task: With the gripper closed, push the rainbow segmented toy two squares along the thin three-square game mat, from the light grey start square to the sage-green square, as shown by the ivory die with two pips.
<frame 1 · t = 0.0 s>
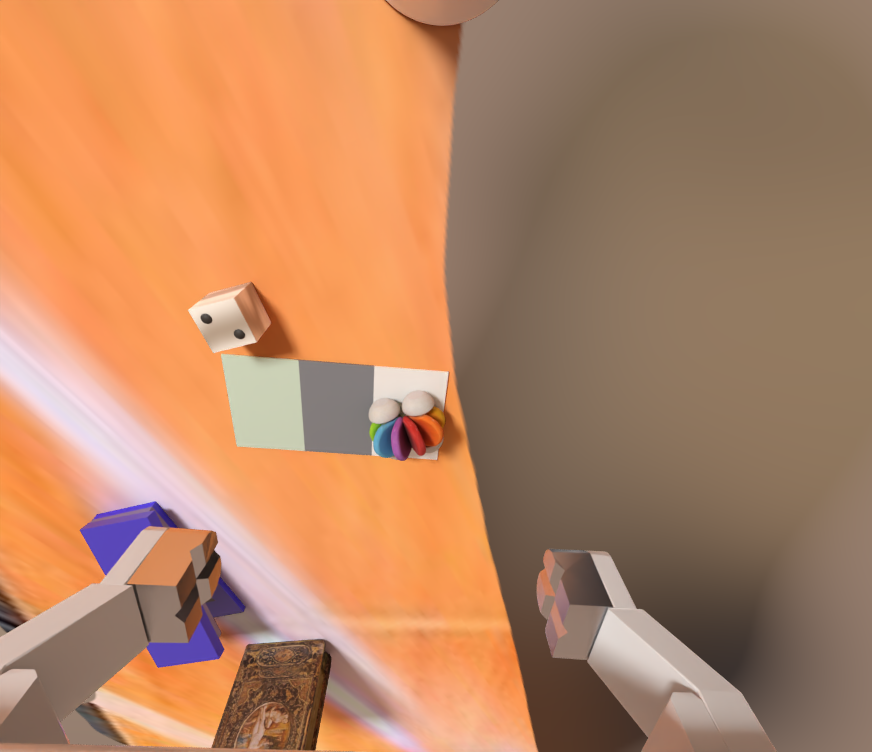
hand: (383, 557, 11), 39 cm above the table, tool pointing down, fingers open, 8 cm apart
game mat: (337, 410, 56), on the table
book: (288, 648, 85), on the table
rainbow segmented toy: (407, 415, 56), resting on game mat
stapler: (179, 560, 72), on the table
die: (241, 307, 49), on the table
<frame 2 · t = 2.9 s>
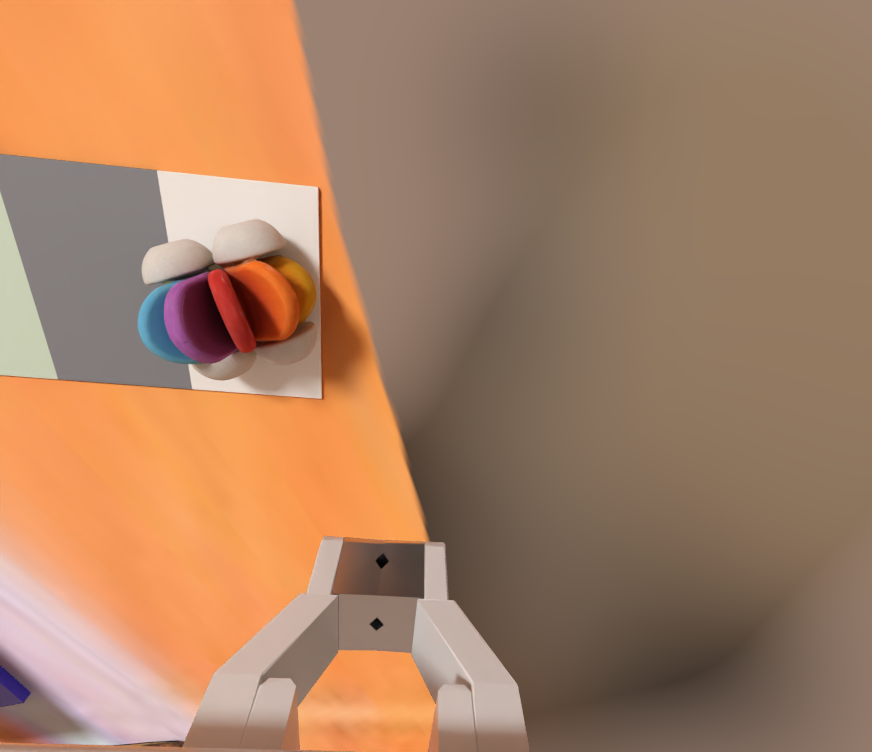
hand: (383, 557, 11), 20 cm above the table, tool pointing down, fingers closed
game mat: (104, 284, 28), on the table
rainbow segmented toy: (249, 294, 28), resting on game mat
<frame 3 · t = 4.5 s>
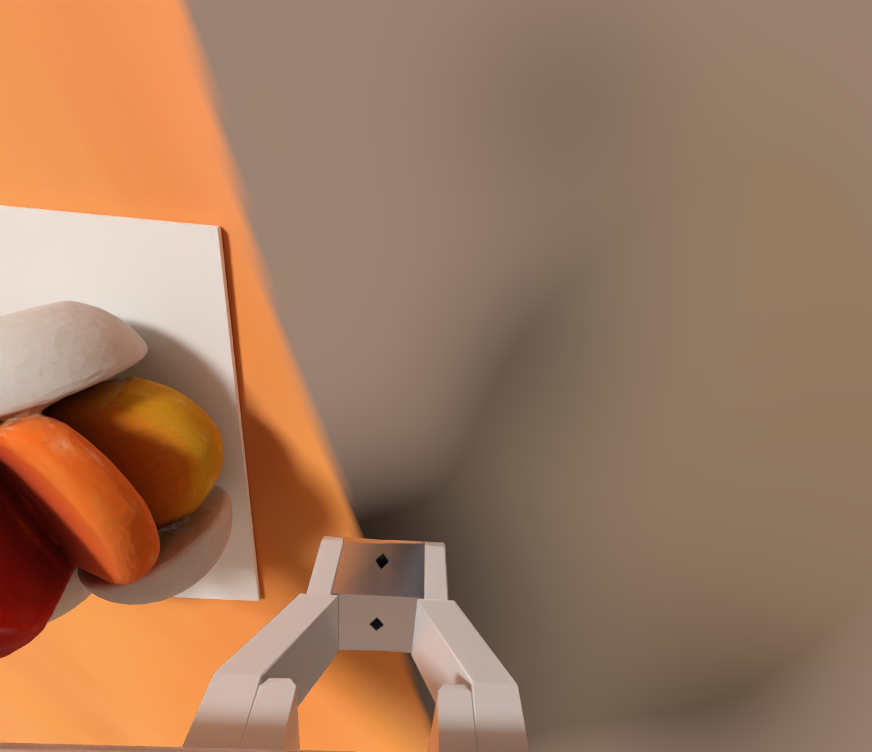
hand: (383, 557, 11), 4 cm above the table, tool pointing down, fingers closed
rainbow segmented toy: (99, 432, 14), resting on game mat
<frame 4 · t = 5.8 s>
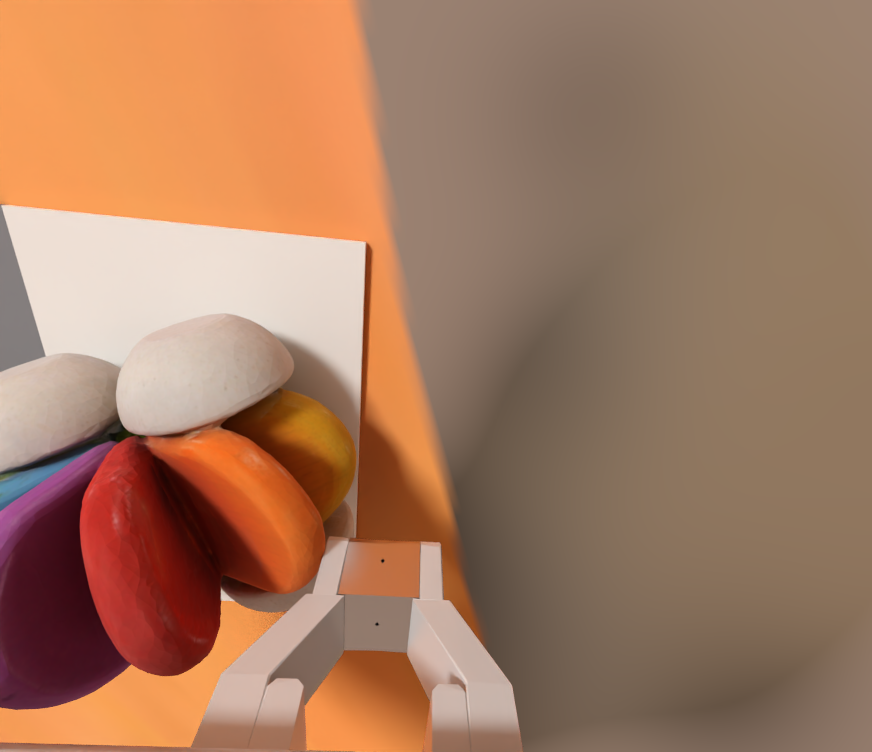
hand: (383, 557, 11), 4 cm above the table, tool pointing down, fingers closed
rainbow segmented toy: (217, 440, 14), resting on game mat, touching gripper
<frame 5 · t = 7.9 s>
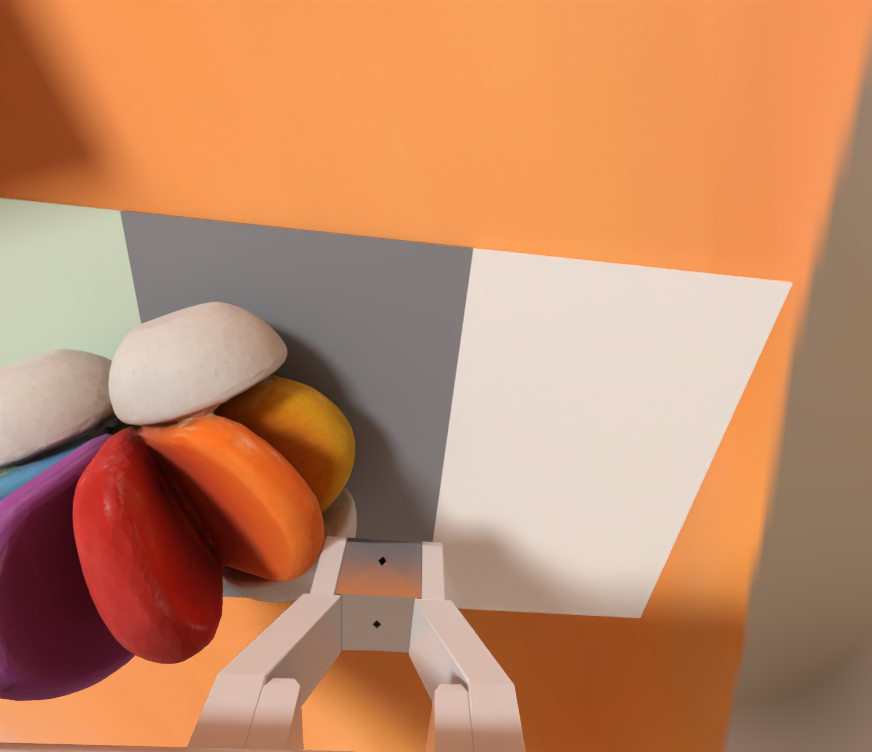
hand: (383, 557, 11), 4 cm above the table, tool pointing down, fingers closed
game mat: (307, 450, 14), on the table
rainbow segmented toy: (217, 434, 14), resting on game mat, touching gripper
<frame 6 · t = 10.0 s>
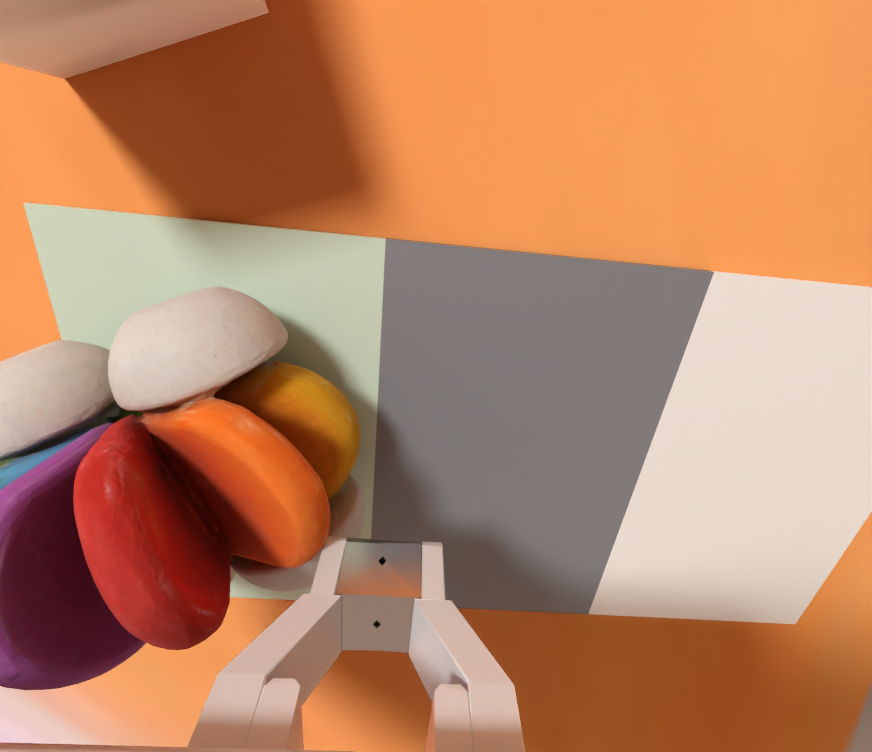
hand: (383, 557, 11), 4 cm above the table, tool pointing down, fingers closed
game mat: (508, 464, 15), on the table
rainbow segmented toy: (221, 425, 14), resting on game mat, touching gripper
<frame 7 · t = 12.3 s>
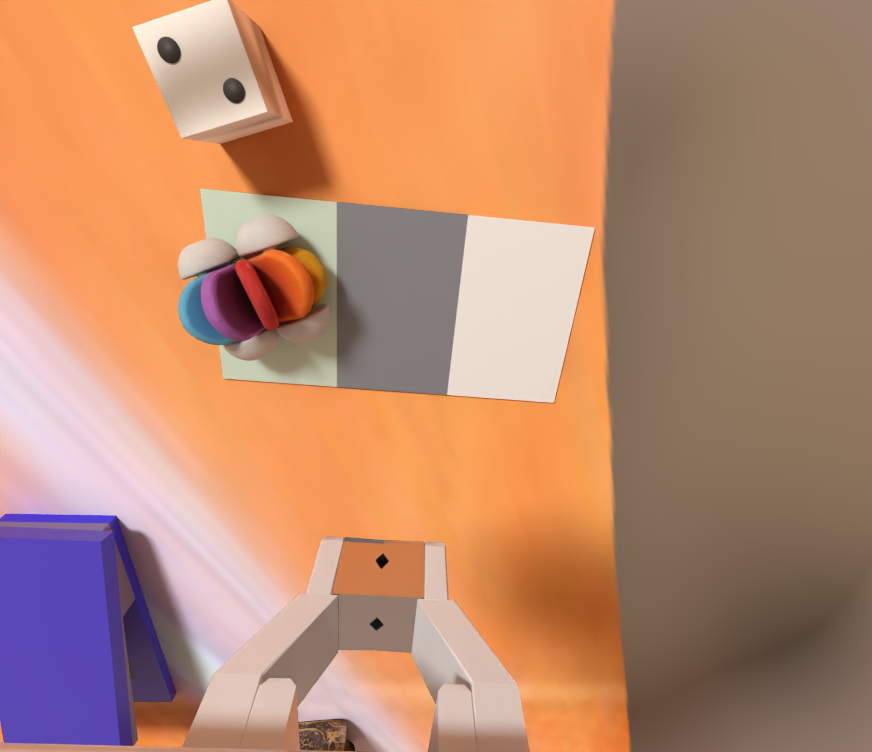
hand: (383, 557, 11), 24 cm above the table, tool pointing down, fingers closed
game mat: (397, 307, 33), on the table
book: (291, 733, 57), on the table
rainbow segmented toy: (268, 284, 32), resting on game mat
stapler: (106, 608, 47), on the table
die: (239, 88, 27), on the table
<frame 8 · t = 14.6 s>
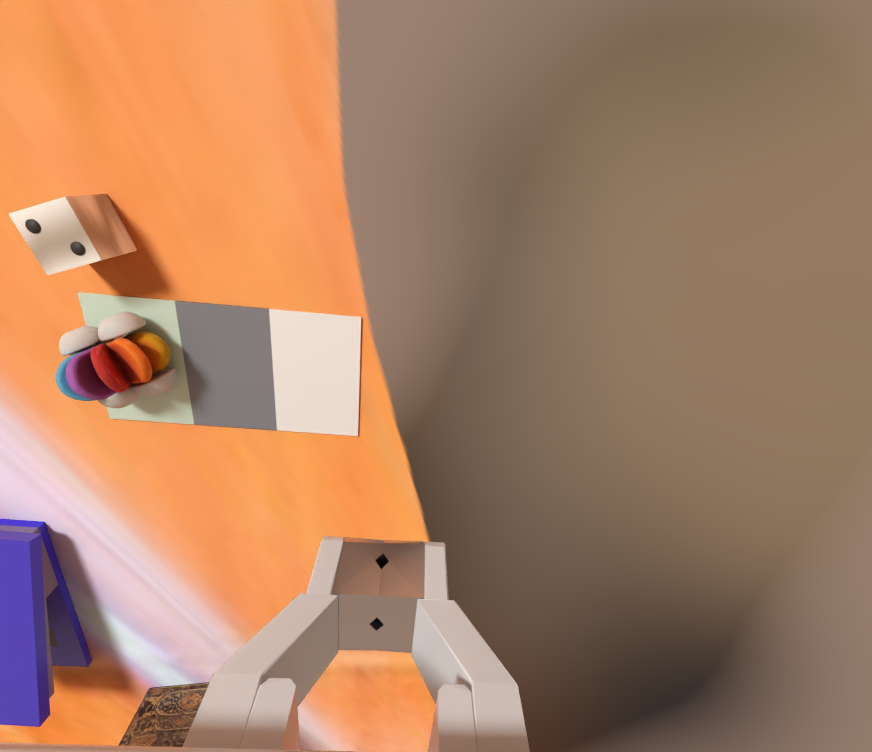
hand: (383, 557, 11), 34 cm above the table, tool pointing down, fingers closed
game mat: (230, 369, 46), on the table
book: (200, 692, 70), on the table
rainbow segmented toy: (134, 352, 45), resting on game mat
stapler: (36, 590, 60), on the table
die: (98, 230, 40), on the table
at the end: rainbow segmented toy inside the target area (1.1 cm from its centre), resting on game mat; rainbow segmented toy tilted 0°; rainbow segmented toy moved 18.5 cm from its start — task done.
